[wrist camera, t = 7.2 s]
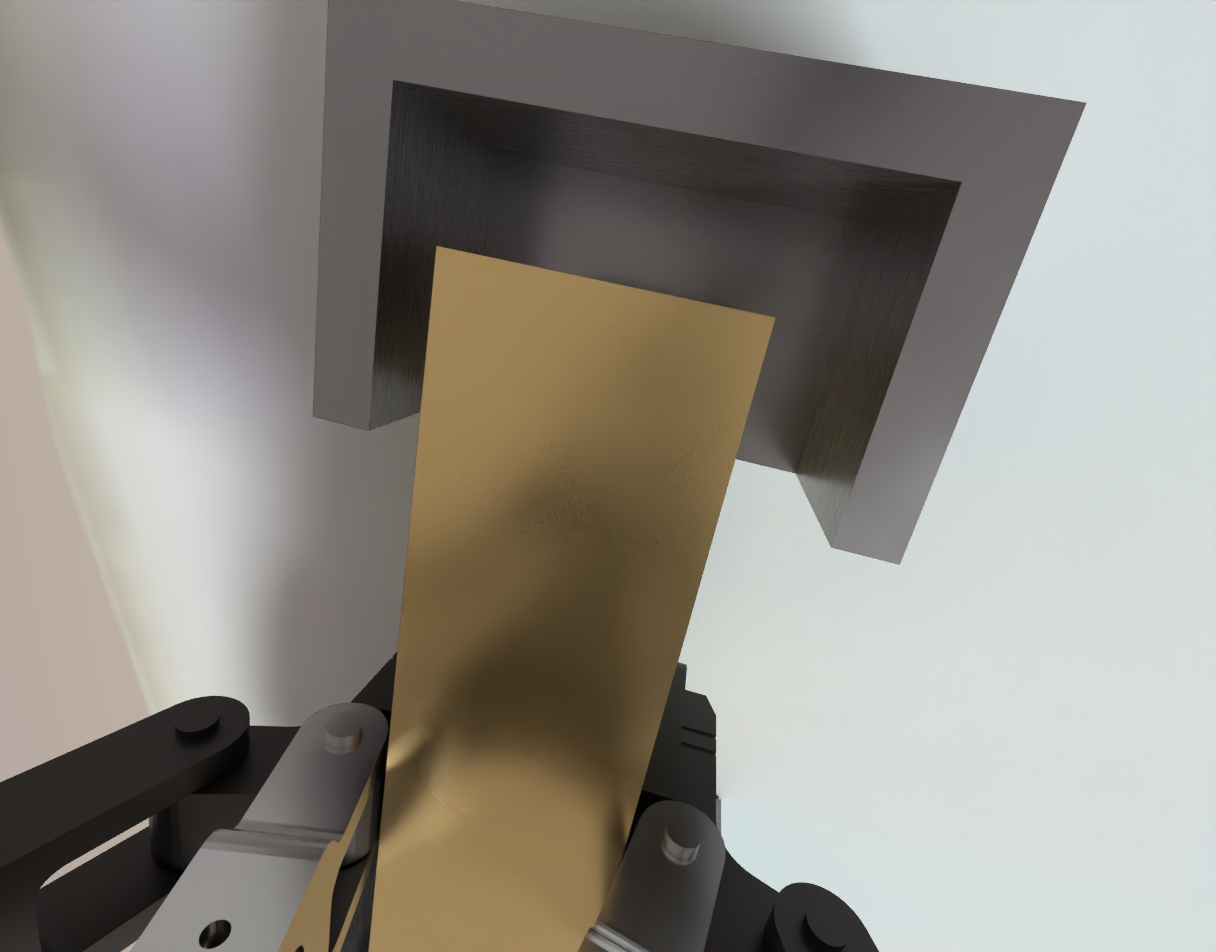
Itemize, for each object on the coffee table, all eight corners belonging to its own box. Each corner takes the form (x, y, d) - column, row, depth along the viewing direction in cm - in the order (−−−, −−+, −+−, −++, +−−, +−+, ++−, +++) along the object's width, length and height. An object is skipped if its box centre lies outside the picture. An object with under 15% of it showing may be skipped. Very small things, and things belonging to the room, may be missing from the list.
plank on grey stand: (476, 105, 12) (329, -19, 8) (931, 187, 11) (1086, 103, 7) (394, 848, 19) (290, 1025, 14) (671, 942, 18) (656, 1165, 13)
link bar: (560, 271, 11) (436, 245, 6) (747, 311, 10) (775, 318, 6) (460, 881, 16) (351, 1128, 11) (584, 922, 15) (525, 1197, 11)
